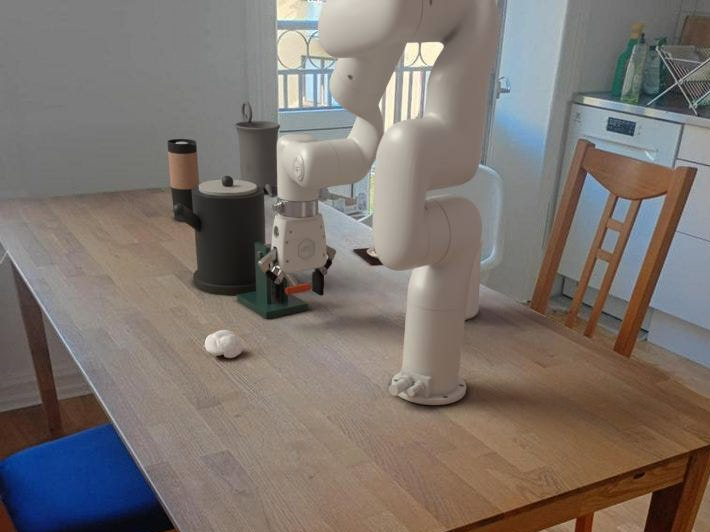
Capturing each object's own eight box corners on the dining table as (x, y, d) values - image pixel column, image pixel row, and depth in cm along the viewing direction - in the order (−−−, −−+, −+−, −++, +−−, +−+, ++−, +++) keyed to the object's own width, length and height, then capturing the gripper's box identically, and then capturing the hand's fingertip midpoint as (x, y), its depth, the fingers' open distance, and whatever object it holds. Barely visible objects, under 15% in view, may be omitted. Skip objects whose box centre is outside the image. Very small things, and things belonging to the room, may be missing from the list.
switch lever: (309, 293, 156) (312, 284, 154) (287, 298, 153) (290, 289, 151) (277, 251, 161) (280, 241, 159) (255, 255, 158) (257, 245, 156)
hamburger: (416, 261, 193) (418, 238, 190) (371, 265, 189) (372, 242, 186) (396, 247, 202) (398, 225, 200) (353, 250, 199) (354, 228, 196)
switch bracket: (308, 309, 162) (308, 248, 156) (266, 319, 157) (264, 255, 150) (277, 292, 170) (276, 233, 163) (237, 300, 165) (234, 239, 158)
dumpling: (232, 347, 145) (236, 328, 143) (243, 362, 142) (248, 343, 140) (197, 348, 141) (201, 328, 139) (208, 363, 138) (212, 344, 136)
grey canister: (293, 194, 246) (292, 107, 233) (250, 199, 239) (247, 109, 226) (265, 182, 260) (263, 99, 246) (224, 186, 253) (220, 100, 239)
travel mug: (170, 216, 220) (163, 139, 209) (197, 214, 222) (192, 138, 212) (177, 223, 214) (170, 144, 203) (204, 221, 217) (199, 143, 206)
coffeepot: (417, 332, 154) (425, 236, 144) (433, 291, 175) (440, 204, 165) (472, 338, 153) (484, 241, 143) (481, 296, 173) (492, 209, 163)
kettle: (285, 286, 174) (283, 179, 162) (198, 303, 163) (190, 190, 151) (240, 262, 187) (236, 162, 175) (157, 276, 176) (147, 170, 164)
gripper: (268, 217, 138) (270, 311, 148) (347, 206, 147) (345, 295, 157) (246, 208, 143) (250, 299, 153) (325, 197, 152) (323, 284, 162)
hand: (298, 297), depth 155 cm, fingers open, 8 cm apart
